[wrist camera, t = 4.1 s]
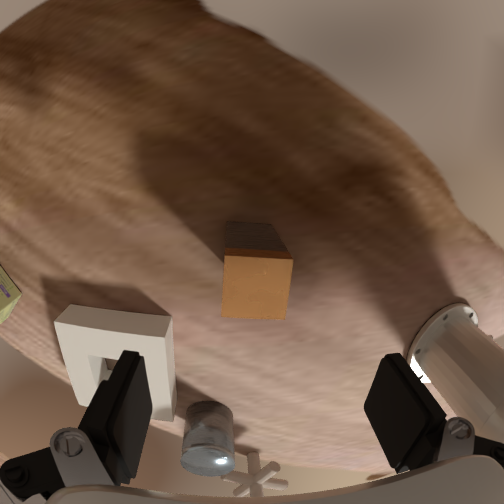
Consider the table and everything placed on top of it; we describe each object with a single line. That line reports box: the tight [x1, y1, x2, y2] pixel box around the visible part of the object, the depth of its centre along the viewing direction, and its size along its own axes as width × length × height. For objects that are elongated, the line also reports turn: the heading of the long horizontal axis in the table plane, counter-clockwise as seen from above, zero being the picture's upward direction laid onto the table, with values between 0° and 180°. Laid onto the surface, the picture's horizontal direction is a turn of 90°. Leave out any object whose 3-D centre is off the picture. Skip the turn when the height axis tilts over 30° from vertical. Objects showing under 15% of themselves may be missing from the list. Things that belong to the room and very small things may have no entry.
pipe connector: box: [221, 452, 288, 497], centre depth 32 cm, size 10×10×10 cm
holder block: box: [54, 304, 177, 422], centre depth 28 cm, size 12×12×4 cm
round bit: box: [181, 401, 235, 476], centre depth 30 cm, size 6×6×8 cm
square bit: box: [221, 221, 293, 320], centre depth 22 cm, size 4×4×10 cm
